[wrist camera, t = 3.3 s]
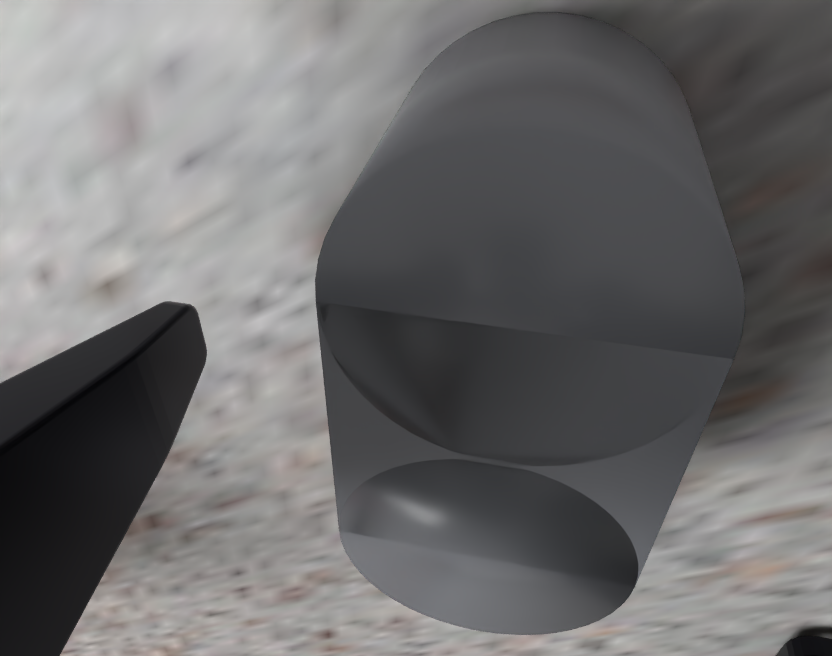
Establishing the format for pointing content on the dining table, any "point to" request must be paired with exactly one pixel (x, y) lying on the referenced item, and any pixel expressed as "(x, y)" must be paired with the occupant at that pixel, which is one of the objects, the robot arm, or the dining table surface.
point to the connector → (524, 327)
